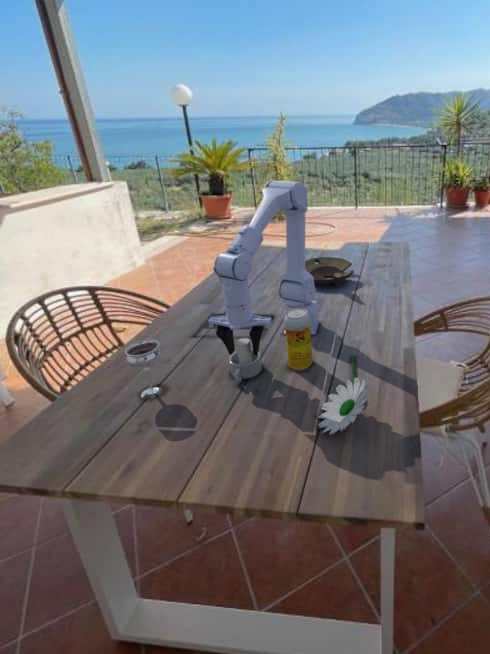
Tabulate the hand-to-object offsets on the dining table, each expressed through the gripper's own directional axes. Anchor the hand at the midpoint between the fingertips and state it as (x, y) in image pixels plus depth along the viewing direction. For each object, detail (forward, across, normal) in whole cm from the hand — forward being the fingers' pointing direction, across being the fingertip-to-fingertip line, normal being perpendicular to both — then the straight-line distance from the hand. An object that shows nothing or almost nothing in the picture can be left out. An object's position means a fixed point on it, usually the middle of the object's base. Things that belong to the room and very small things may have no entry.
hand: (244, 352), depth 95 cm
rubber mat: (+5, -11, +23) cm, 26 cm away
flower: (+6, +27, -8) cm, 29 cm away
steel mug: (+5, 0, -1) cm, 6 cm away
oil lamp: (+6, +12, +60) cm, 61 cm away
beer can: (+6, +13, +3) cm, 14 cm away
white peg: (+5, 0, 0) cm, 5 cm away
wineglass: (+6, -19, -9) cm, 22 cm away
